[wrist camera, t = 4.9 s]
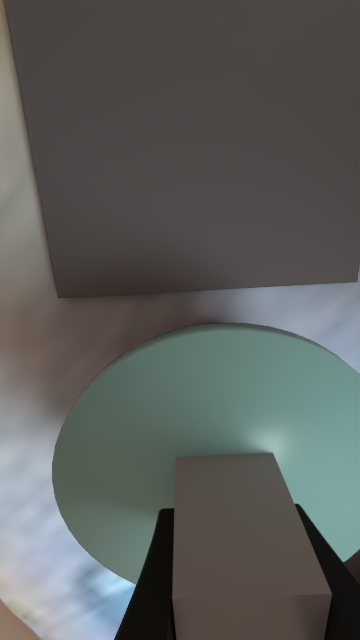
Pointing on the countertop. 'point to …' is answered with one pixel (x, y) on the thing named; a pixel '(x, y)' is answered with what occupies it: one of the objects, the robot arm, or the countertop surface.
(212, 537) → the lid
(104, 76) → the mat
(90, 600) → the countertop surface
